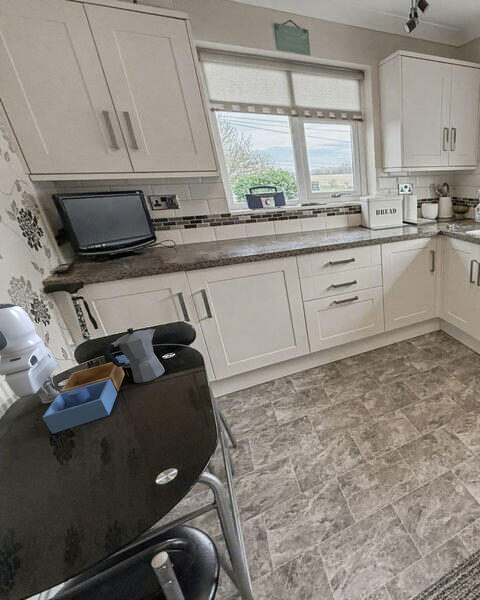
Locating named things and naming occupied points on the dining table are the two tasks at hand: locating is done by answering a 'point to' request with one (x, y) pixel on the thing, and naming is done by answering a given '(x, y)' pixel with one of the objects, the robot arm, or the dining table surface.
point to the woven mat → (123, 359)
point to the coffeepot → (137, 355)
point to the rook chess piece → (51, 391)
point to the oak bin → (95, 377)
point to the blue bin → (80, 407)
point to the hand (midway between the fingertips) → (48, 392)
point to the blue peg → (79, 396)
